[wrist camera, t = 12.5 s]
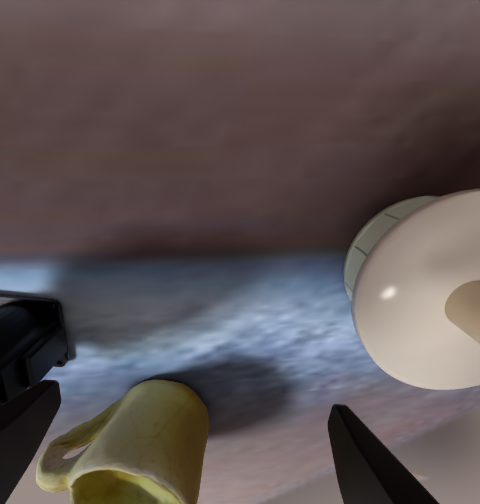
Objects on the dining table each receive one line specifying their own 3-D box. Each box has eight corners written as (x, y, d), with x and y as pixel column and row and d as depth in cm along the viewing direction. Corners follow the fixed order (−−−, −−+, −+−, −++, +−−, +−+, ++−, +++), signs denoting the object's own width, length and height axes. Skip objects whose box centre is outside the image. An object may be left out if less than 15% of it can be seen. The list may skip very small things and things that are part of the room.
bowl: (329, 320, 23) (350, 357, 19) (362, 187, 19) (396, 196, 15) (455, 331, 23) (503, 370, 19) (511, 204, 20) (585, 217, 16)
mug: (242, 398, 23) (191, 565, 15) (209, 438, 29) (159, 573, 21) (118, 331, 24) (5, 458, 16) (111, 384, 30) (26, 495, 22)
